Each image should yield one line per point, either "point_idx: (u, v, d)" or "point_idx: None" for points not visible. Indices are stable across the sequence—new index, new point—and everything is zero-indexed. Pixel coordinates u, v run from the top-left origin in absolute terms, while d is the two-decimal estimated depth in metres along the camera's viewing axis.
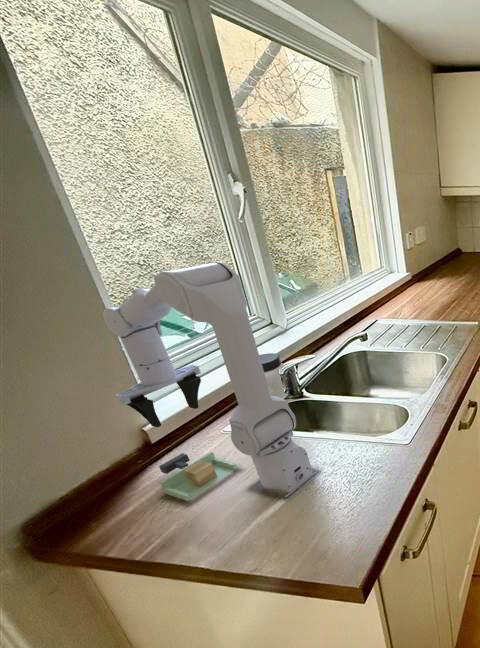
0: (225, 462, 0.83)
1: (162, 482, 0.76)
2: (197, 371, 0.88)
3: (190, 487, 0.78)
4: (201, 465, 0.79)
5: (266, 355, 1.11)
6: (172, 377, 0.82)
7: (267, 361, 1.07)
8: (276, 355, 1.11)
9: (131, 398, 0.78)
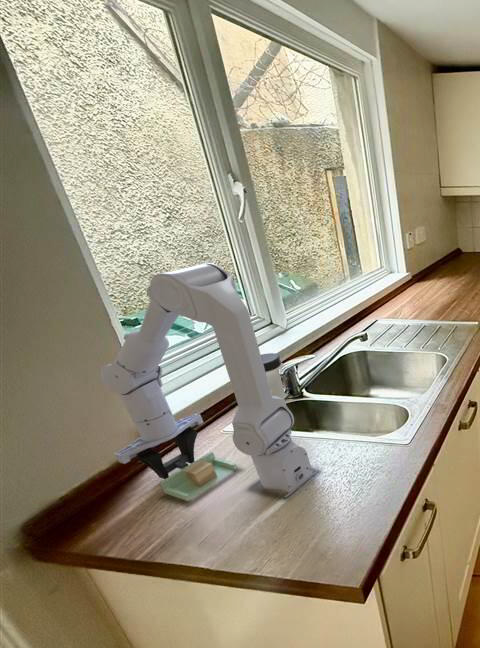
0: (225, 462, 0.83)
1: (162, 482, 0.76)
2: (199, 421, 0.85)
3: (190, 487, 0.78)
4: (201, 465, 0.79)
5: (266, 355, 1.11)
6: (173, 431, 0.79)
7: (267, 361, 1.07)
8: (276, 355, 1.11)
9: (131, 456, 0.74)
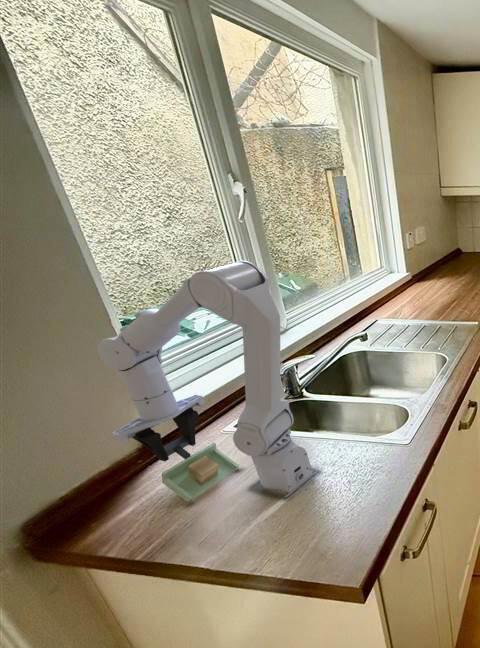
0: (227, 459, 0.83)
1: (164, 473, 0.74)
2: (201, 402, 0.81)
3: (189, 481, 0.77)
4: (207, 463, 0.78)
5: None
6: (174, 411, 0.75)
7: None
8: None
9: (129, 435, 0.71)
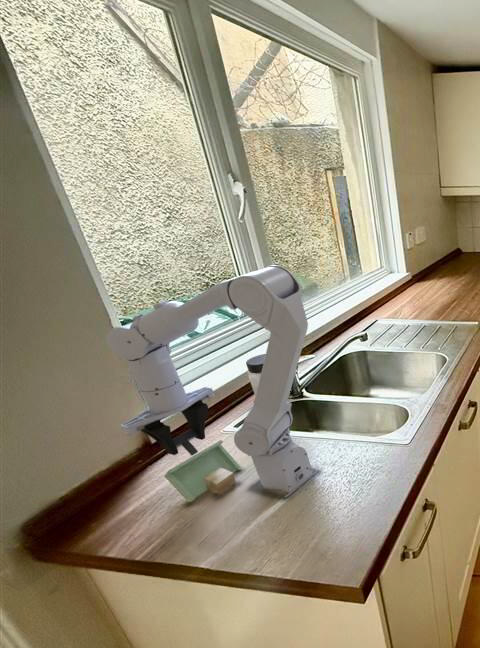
0: (231, 459, 0.82)
1: (171, 471, 0.73)
2: (211, 394, 0.79)
3: (191, 479, 0.77)
4: (230, 483, 0.78)
5: None
6: (184, 403, 0.73)
7: None
8: None
9: (138, 428, 0.69)
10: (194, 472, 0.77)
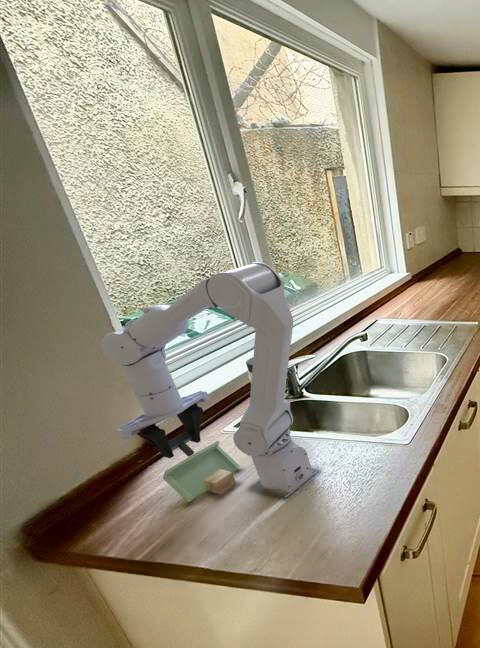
0: (229, 459, 0.82)
1: (168, 472, 0.73)
2: (205, 398, 0.80)
3: (190, 480, 0.77)
4: (229, 483, 0.78)
5: None
6: (179, 406, 0.74)
7: None
8: None
9: (133, 432, 0.70)
10: (193, 473, 0.78)
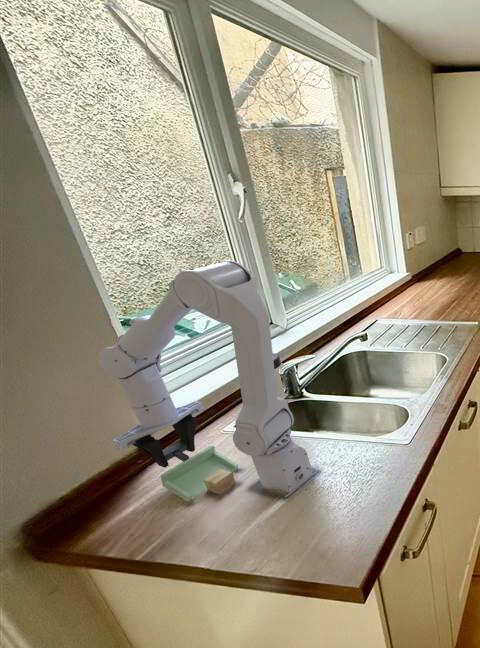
0: (226, 460, 0.83)
1: (163, 475, 0.75)
2: (200, 408, 0.83)
3: (189, 483, 0.78)
4: (229, 483, 0.78)
5: None
6: (173, 417, 0.77)
7: None
8: (276, 355, 1.11)
9: (129, 443, 0.72)
10: (192, 477, 0.79)
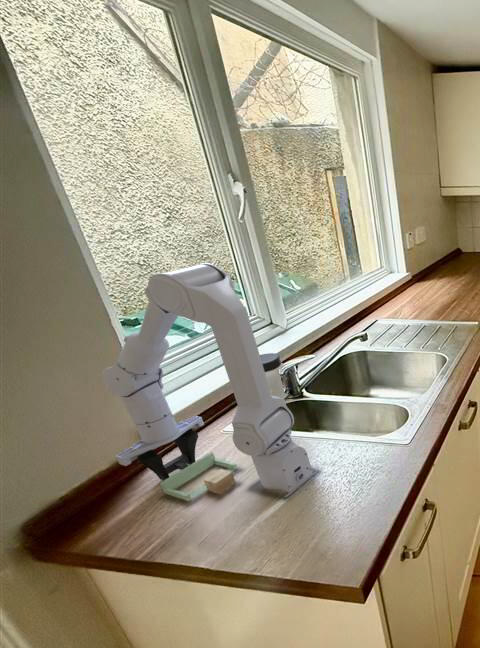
0: (225, 462, 0.83)
1: (162, 483, 0.76)
2: (200, 423, 0.85)
3: None
4: (229, 483, 0.78)
5: (266, 355, 1.11)
6: (174, 433, 0.79)
7: (267, 361, 1.07)
8: (276, 355, 1.11)
9: (132, 458, 0.75)
10: None
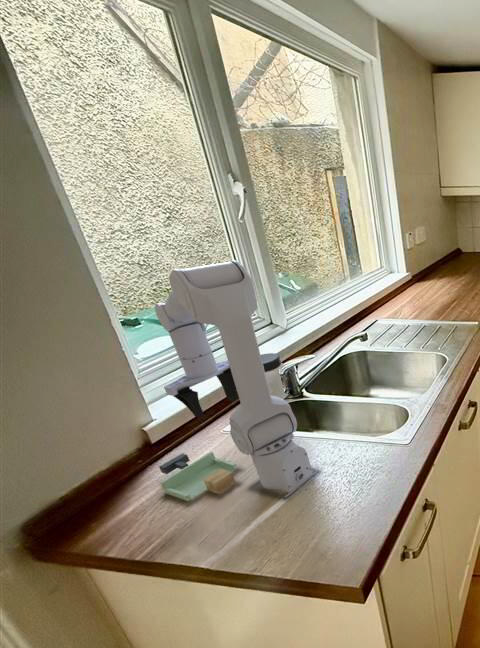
0: (225, 462, 0.83)
1: (162, 482, 0.76)
2: None
3: (190, 487, 0.78)
4: (229, 483, 0.78)
5: (266, 355, 1.11)
6: (214, 370, 0.86)
7: (267, 361, 1.07)
8: (276, 355, 1.11)
9: (178, 390, 0.82)
10: (193, 483, 0.80)
